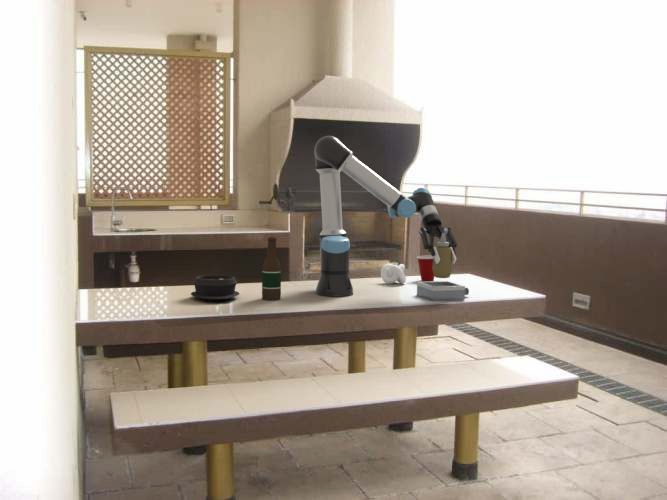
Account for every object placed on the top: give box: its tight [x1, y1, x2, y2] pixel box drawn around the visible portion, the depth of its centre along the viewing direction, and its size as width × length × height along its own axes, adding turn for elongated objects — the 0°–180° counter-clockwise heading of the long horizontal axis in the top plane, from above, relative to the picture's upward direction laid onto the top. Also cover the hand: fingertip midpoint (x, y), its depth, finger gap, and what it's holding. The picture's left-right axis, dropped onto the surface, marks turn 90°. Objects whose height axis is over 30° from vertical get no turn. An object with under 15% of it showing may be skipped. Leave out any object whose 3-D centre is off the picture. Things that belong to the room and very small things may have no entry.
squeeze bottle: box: [432, 232, 453, 279], centre depth 272 cm, size 8×8×18 cm
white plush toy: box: [380, 263, 407, 285], centre depth 312 cm, size 11×12×9 cm
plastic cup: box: [415, 254, 435, 282], centre depth 324 cm, size 11×11×12 cm
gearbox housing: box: [416, 280, 470, 302], centre depth 274 cm, size 19×15×6 cm
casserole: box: [190, 274, 240, 302], centre depth 260 cm, size 25×19×8 cm
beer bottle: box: [261, 236, 282, 301], centre depth 261 cm, size 8×8×24 cm
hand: (446, 261), depth 269 cm, fingers closed on squeeze bottle, 6 cm apart
